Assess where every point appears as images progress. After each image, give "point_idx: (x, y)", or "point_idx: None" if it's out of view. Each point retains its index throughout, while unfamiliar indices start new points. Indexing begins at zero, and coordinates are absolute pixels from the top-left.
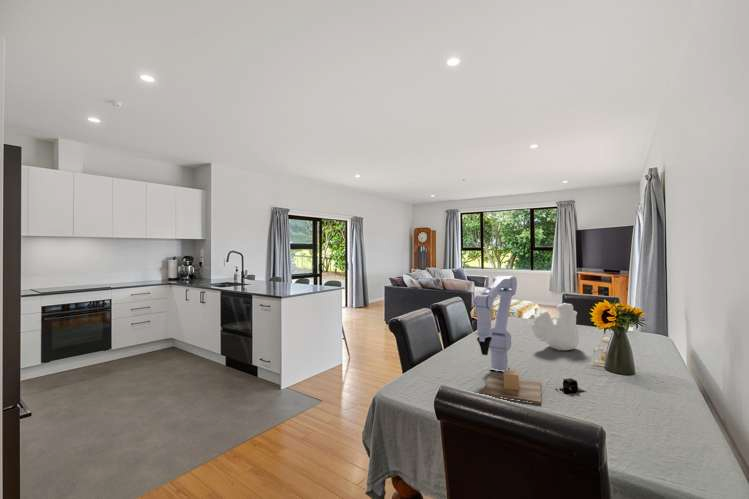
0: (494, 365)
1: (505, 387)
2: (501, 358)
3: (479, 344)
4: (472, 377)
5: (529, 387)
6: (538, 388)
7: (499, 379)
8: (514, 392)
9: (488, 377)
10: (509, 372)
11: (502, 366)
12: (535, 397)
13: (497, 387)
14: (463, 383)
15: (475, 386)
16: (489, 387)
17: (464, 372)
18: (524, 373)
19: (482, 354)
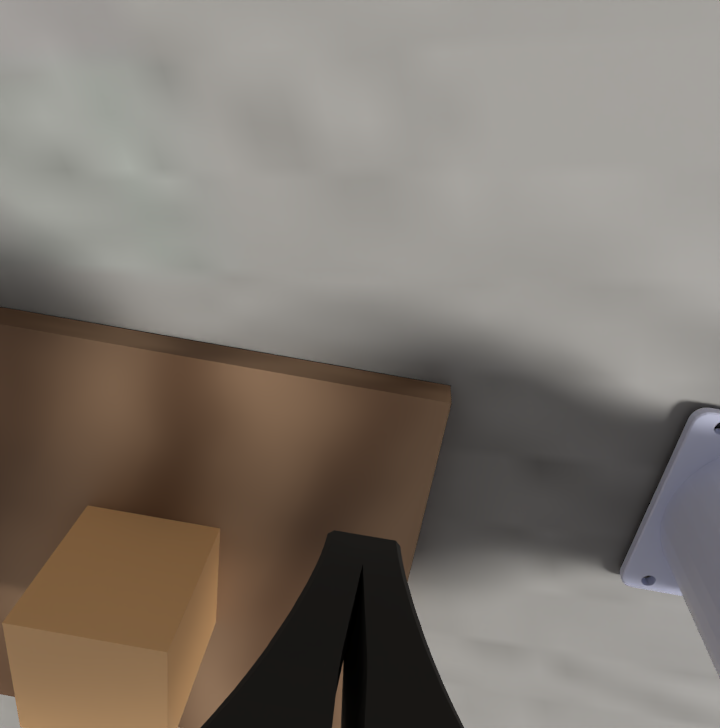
0: (718, 504)
1: (84, 520)
2: (718, 666)
3: (218, 715)
4: (409, 180)
5: None
6: (196, 719)
7: (313, 491)
8: (29, 566)
9: (345, 390)
10: (76, 677)
11: (678, 581)
12: (5, 672)
13: (79, 452)
14: (148, 55)
15: (110, 220)
16: (40, 380)
17: (613, 46)
18: (619, 690)
19: (329, 536)
